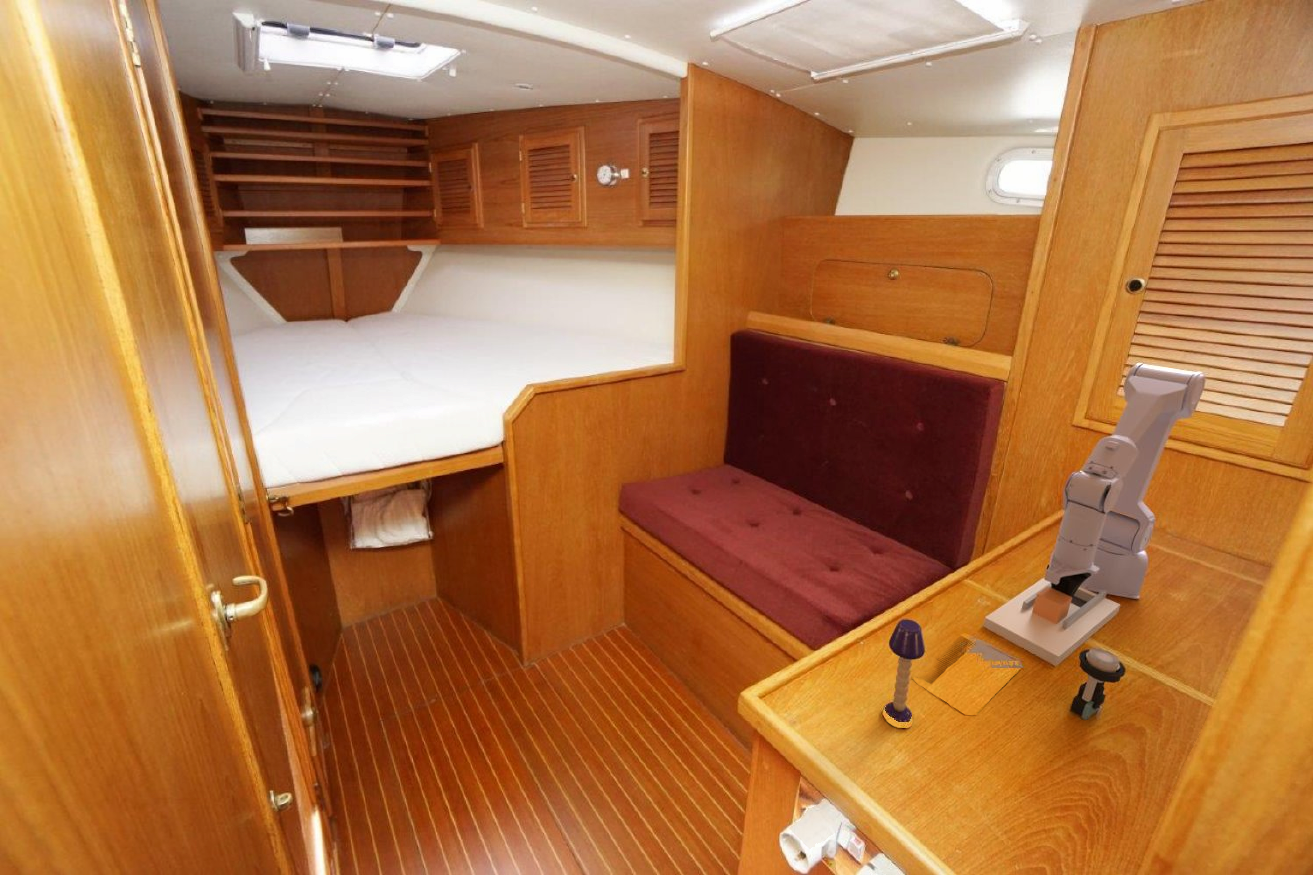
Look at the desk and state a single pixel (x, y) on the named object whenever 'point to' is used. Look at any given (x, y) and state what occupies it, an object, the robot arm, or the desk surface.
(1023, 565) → the desk surface
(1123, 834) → the desk surface
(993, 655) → the grooming comb
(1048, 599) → the block
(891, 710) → the toy lamp
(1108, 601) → the trough
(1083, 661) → the push button
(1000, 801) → the desk surface
